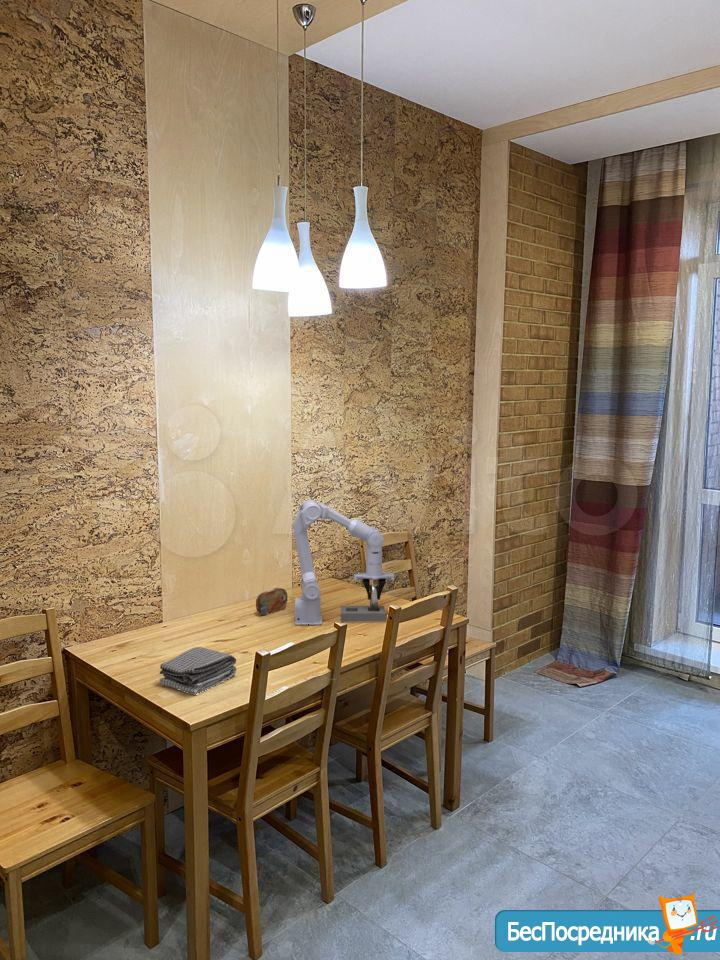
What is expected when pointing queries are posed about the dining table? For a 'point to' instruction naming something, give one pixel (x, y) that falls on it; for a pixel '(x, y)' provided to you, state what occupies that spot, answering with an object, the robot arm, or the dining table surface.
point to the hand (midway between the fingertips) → (373, 598)
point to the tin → (271, 601)
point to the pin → (373, 596)
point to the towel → (197, 670)
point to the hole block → (362, 614)
